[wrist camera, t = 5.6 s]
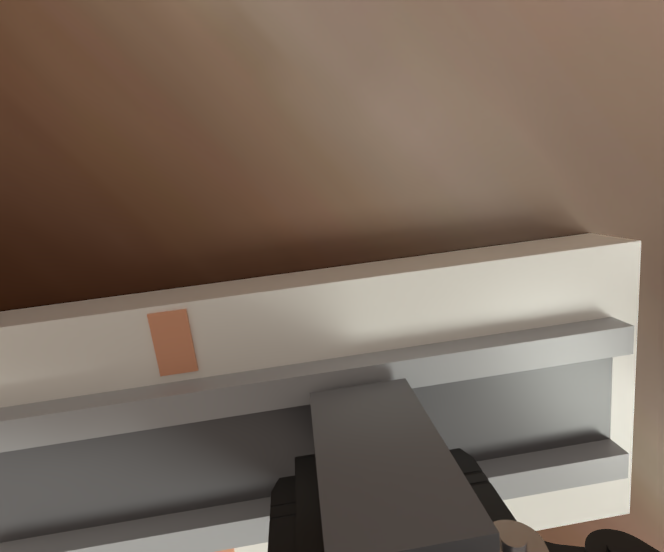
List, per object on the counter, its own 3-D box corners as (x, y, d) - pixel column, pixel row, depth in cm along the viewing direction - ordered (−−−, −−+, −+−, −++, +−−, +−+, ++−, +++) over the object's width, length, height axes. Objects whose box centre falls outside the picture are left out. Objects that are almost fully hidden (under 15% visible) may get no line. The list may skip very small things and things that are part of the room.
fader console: (590, 233, 17) (666, 244, 13) (586, 471, 19) (650, 533, 16) (-41, 316, 15) (-137, 354, 12) (40, 568, 17) (-21, 660, 14)
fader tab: (397, 364, 14) (499, 532, 7) (408, 493, 15) (507, 746, 8) (307, 378, 14) (325, 564, 7) (326, 508, 15) (356, 779, 8)
